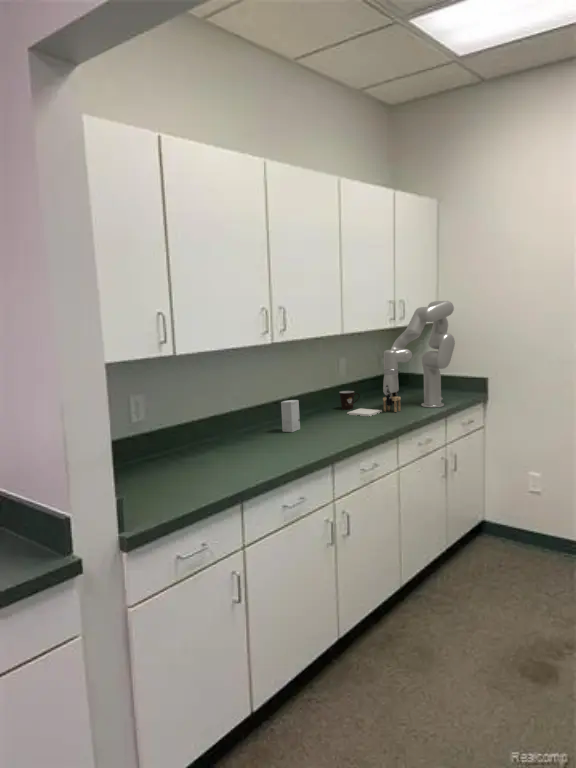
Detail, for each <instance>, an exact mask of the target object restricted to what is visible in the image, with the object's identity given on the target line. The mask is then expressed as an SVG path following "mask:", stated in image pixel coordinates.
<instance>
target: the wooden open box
mask: <svg viewBox="0 0 576 768" xmlns="http://www.w3.org/2000/svg"><path fill="white" fill-rule="evenodd" d="M391 399H392V401H394V404H393V411H394V412H401V396H397V397H394V396H391ZM382 401H383V412H384V411H385V412H384V413H386V412H387V411H391V406H387V405H386V396H384V397H382ZM394 412H393V413H394Z"/></svg>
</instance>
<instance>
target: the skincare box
mask: <svg viewBox="0 0 576 768" xmlns="http://www.w3.org/2000/svg"><path fill="white" fill-rule="evenodd" d="M299 401H300V400H298V399H290V400H283V401H281V402H280V406H281V407H280V408H281V409H280V410H281V412H280V413H281V427H282V428H281V430H282V432H283V433H285V432H286V433H294V432H297V431H299V430H301V422H300V421H301V420H300V405H299V404H300V403H299Z"/></svg>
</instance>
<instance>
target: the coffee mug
mask: <svg viewBox="0 0 576 768" xmlns="http://www.w3.org/2000/svg"><path fill="white" fill-rule="evenodd" d="M355 395H358V397H357V399H356V400H354V399H355ZM339 398H340V405H341V410H342V409H343V411H351V410H350V409H352V410H353V409H354V404H355V403H356V402H357V401H359V399H360V398H361V397H360V393H357V392H356V393H355V391H354V390H341V391H339Z"/></svg>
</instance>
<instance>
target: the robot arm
mask: <svg viewBox="0 0 576 768" xmlns="http://www.w3.org/2000/svg"><path fill="white" fill-rule="evenodd" d="M454 309H455V307H454V304H453V302H452V301H449V300H435V301H431V302H429V303H428V305H427V306H420V307H418V308H416V309H415V310H414V313H413V315H412V317H411V319H410V321H409V323H408V324H407V327H406V329H405V330H404V331H403V332H402V333H401V334H400V335H399V336H398V337H397V338H396V339H395V341H394V342H393V343H392V345H391V348H390V349H386V350H384V351H383V382H382V383H383V384H382V385H383V386H382V389H383V390H382V391H383V395H384V397H386V407H388V406H390V407H391V406H393V405H394V401H392V399H391V396H394V397H399V396H398V394H399V391H400V389H399V388H400V387H399V385H400V384H399V368H398V367H399V366H398V365H399V363H408V362H410V361H411V360H412V359H413V353H412V351H411V350H409V349H408V348H406V346H407V345H408V344H409V343H411V342H412V341H414V340H416V339H418V338H420V336H421V335H422V332H423V331H424V328H425V326H426V325H427V323H432V328H431V332H430V336H429V339H428V340H429V341H428V346H429V348H431V349H433V350H427V351H426V352H424V353H423V354H422V356H421V365H422V370H423V371H422V372H423V402H422V403H421V407H423V408H441V407H444V406H445V403H443V402H442V401H443V396H442V377H441V375H442V374H441V371H440V370H442V369H443V370H444V369H446V368H447V367H449V366H450V363H451V361H452V358H453V354H454V349H455V344H456V342H455V337H454V336H453V335H452V334H451V333H448V328H449V321H448V318H447V317H449V316H451V315H452V314H453V312H454V311H455V310H454ZM435 350H436V351H435Z"/></svg>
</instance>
